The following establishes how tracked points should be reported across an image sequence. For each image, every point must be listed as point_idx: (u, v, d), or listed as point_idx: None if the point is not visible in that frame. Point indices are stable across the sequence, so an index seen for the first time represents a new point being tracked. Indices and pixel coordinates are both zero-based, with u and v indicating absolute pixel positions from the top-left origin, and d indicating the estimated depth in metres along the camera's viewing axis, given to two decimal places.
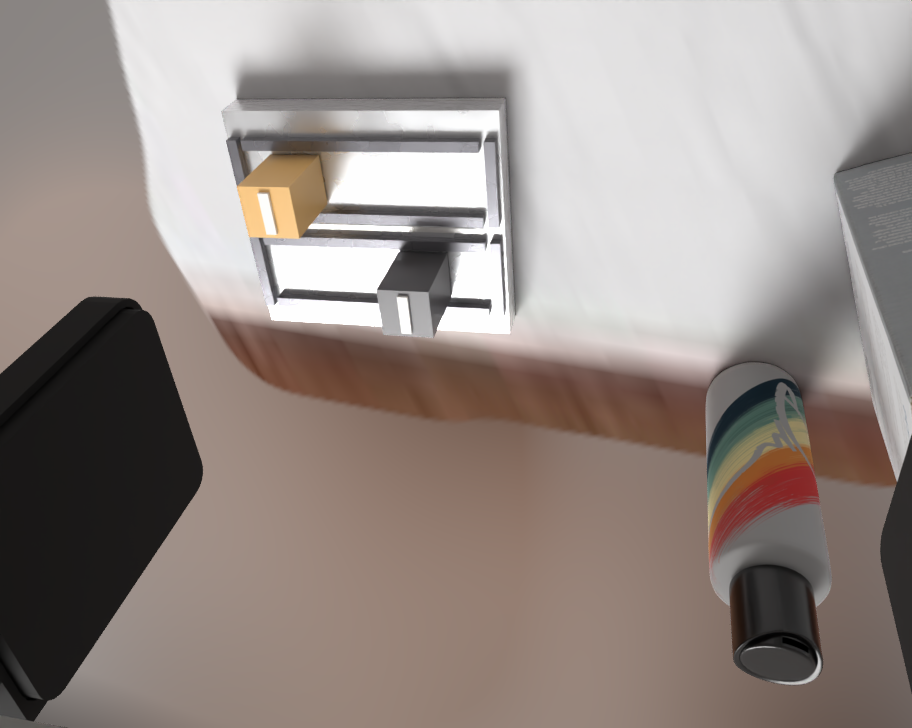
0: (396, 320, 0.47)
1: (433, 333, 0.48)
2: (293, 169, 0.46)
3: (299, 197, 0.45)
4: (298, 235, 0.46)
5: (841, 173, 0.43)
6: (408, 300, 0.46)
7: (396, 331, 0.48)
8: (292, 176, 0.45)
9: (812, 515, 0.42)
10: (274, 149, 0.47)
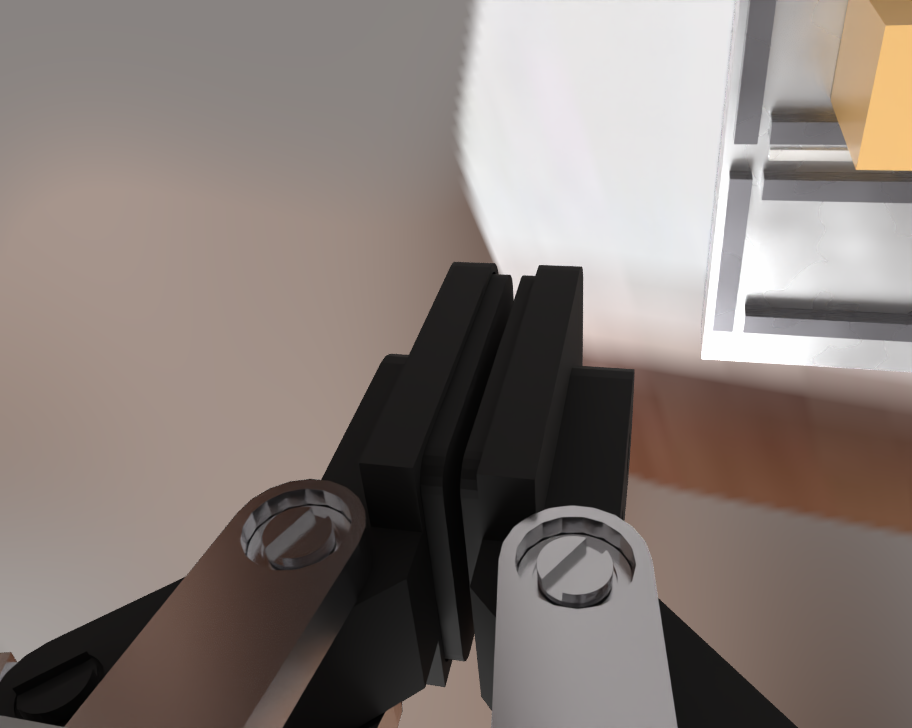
0: None
1: None
2: None
3: None
4: None
5: None
6: None
7: None
8: None
9: None
10: None
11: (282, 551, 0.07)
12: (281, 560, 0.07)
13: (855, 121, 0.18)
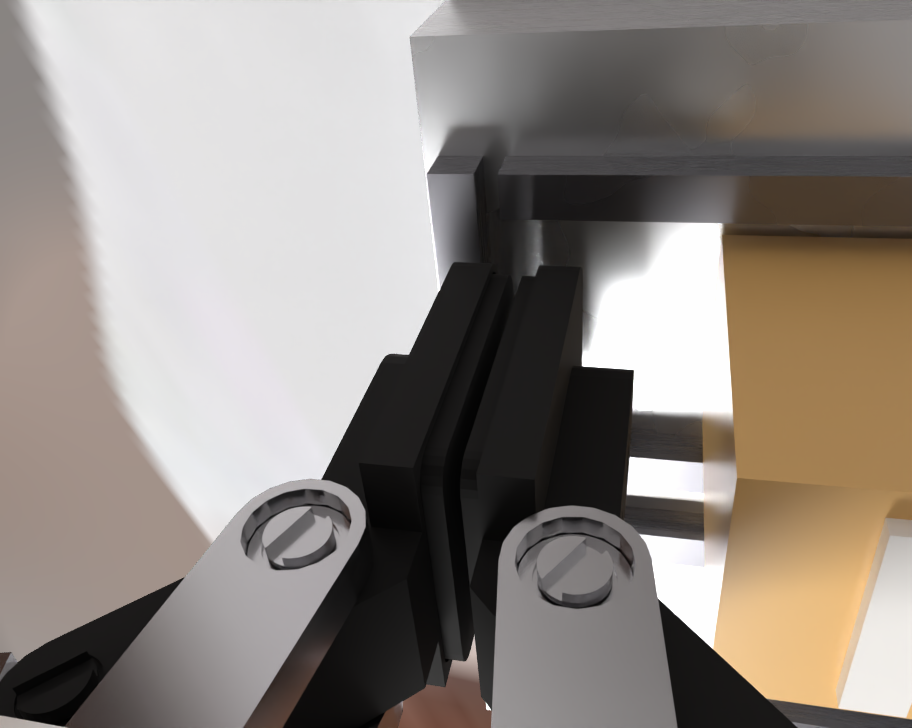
0: None
1: None
2: None
3: None
4: None
5: None
6: None
7: None
8: None
9: None
10: (659, 217, 0.10)
11: (282, 551, 0.07)
12: (281, 560, 0.07)
13: (710, 571, 0.09)
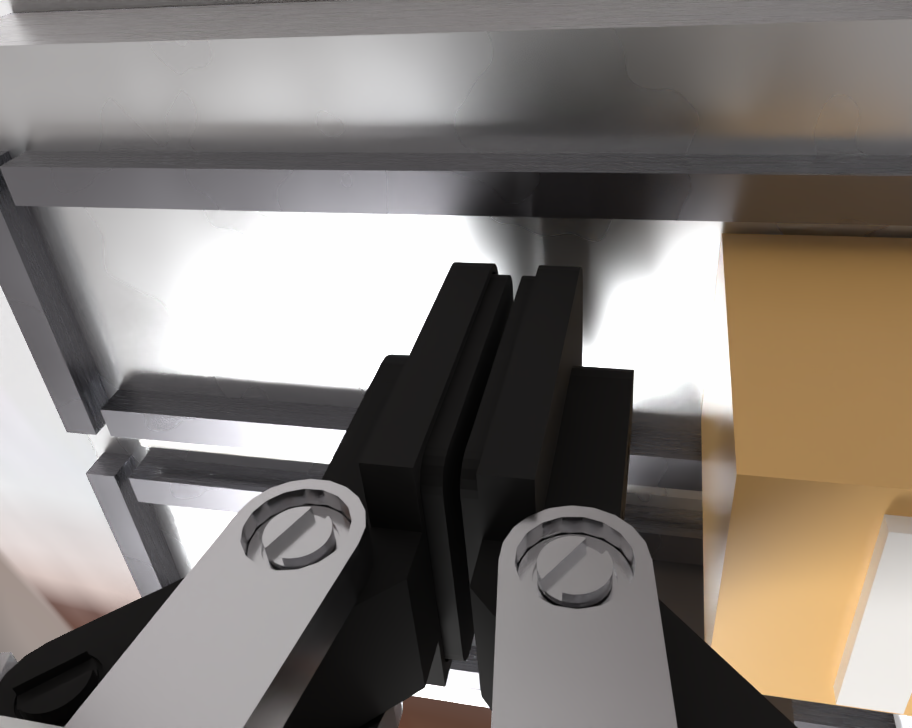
0: None
1: None
2: None
3: None
4: None
5: None
6: None
7: None
8: None
9: None
10: (132, 203, 0.12)
11: (282, 551, 0.07)
12: (281, 560, 0.07)
13: (709, 568, 0.09)
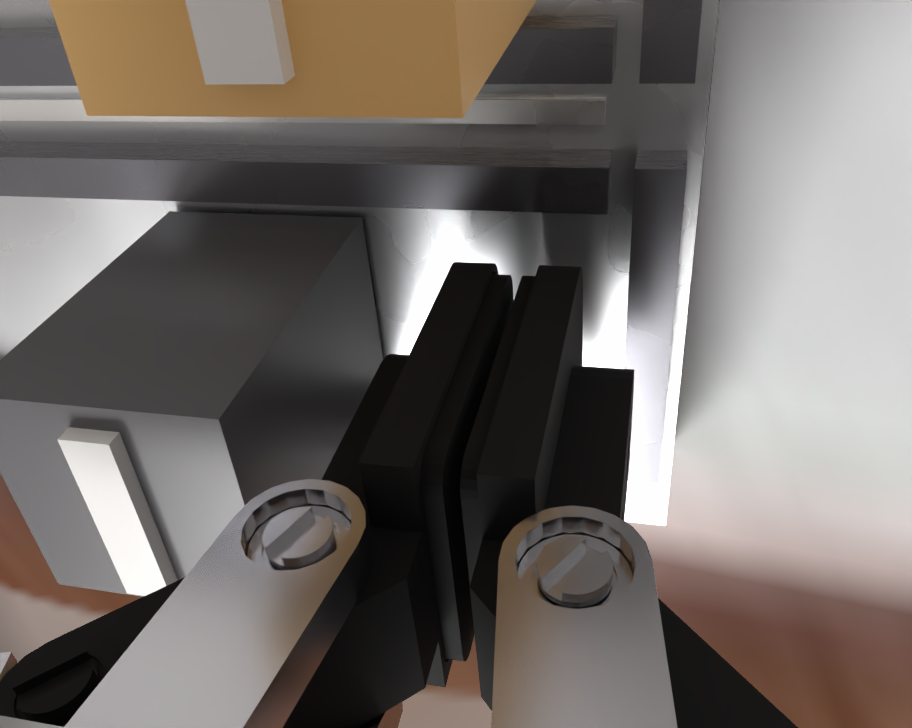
0: (96, 535, 0.10)
1: None
2: None
3: None
4: (461, 90, 0.06)
5: None
6: (128, 453, 0.09)
7: (109, 577, 0.10)
8: None
9: None
10: None
11: (282, 551, 0.07)
12: (281, 560, 0.07)
13: None
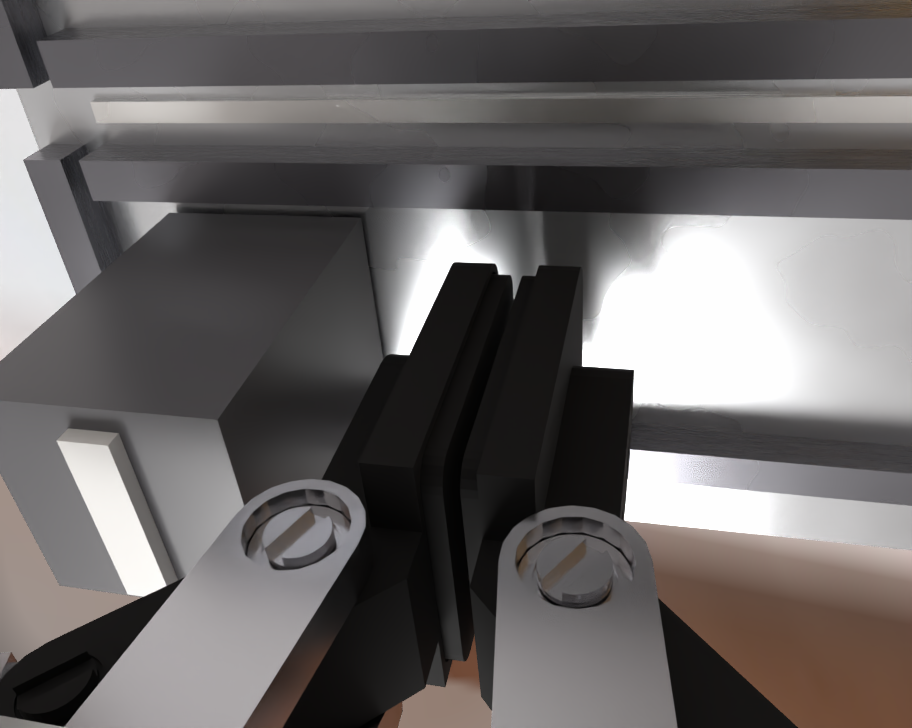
0: (97, 536, 0.10)
1: None
2: None
3: None
4: None
5: None
6: (127, 454, 0.09)
7: (110, 578, 0.10)
8: None
9: None
10: None
11: (282, 551, 0.07)
12: (281, 560, 0.07)
13: None
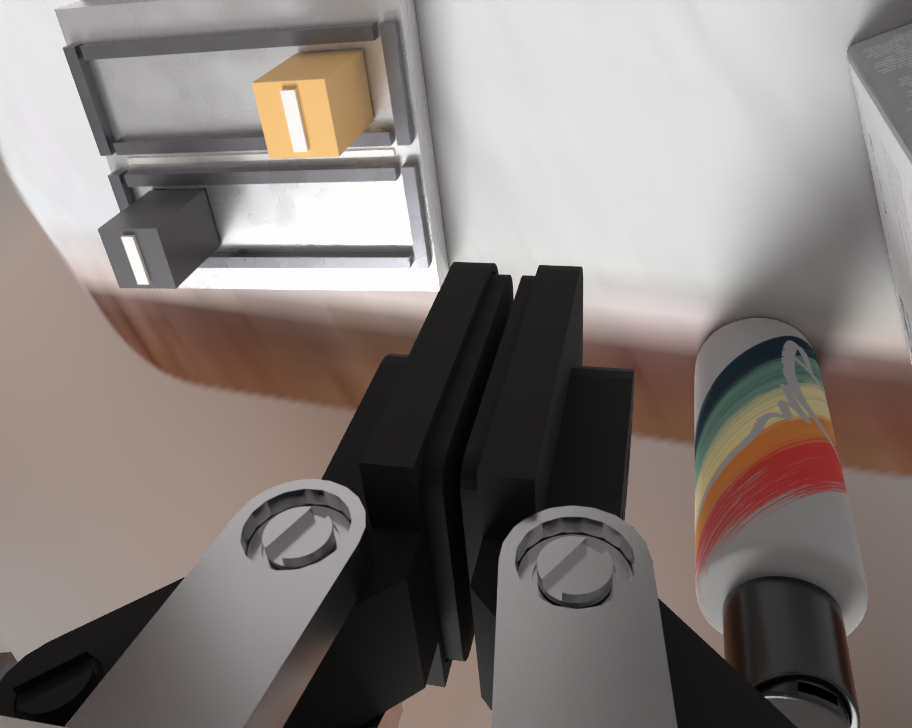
0: (129, 268, 0.38)
1: (176, 283, 0.38)
2: (328, 63, 0.33)
3: (338, 97, 0.33)
4: (338, 151, 0.33)
5: (857, 44, 0.32)
6: (136, 240, 0.37)
7: (133, 282, 0.39)
8: (327, 69, 0.32)
9: (836, 506, 0.30)
10: (121, 56, 0.37)
11: (282, 551, 0.07)
12: (281, 560, 0.07)
13: None
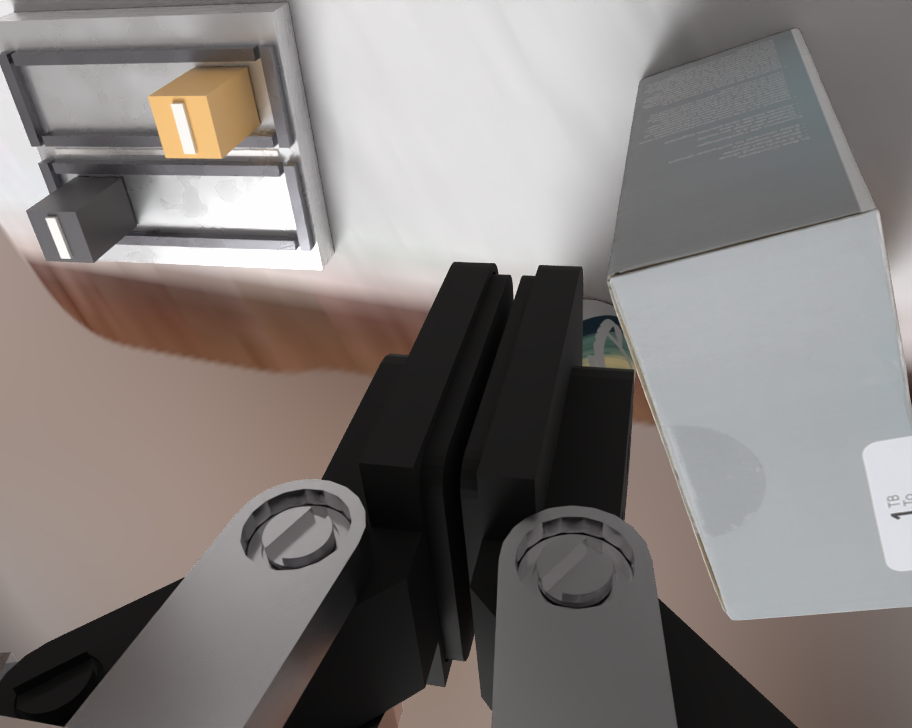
0: (54, 244, 0.45)
1: (93, 258, 0.45)
2: (215, 80, 0.40)
3: (221, 110, 0.40)
4: (221, 154, 0.40)
5: (645, 79, 0.39)
6: (59, 221, 0.44)
7: (57, 256, 0.46)
8: (212, 86, 0.39)
9: None
10: (46, 63, 0.44)
11: (282, 551, 0.07)
12: (281, 560, 0.07)
13: None
